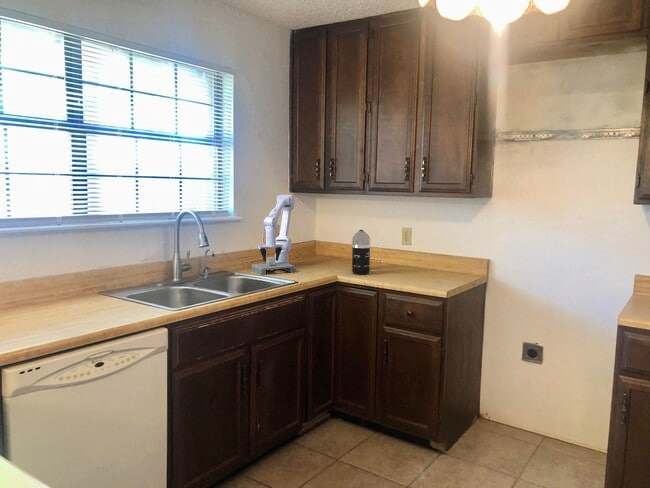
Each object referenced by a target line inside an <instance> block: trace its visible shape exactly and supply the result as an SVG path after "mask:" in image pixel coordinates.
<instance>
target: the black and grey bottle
mask: <svg viewBox="0 0 650 488" xmlns="http://www.w3.org/2000/svg"><path fill="white" fill-rule="evenodd" d="M351 249H352V251H351V253H352V254H351V255H352V256H351V258H352V259H351V272H352V274H353V275H359V276H365V275H369V274H370V272H371V270H370V265H371V261H370V260H371V259H370V258H371V238H370V235H369V233H367V232H366V231H365V230H364V229H359V230H358V231H356V233H354V234H353V236H352V239H351Z"/></svg>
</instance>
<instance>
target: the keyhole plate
mask: <svg viewBox="0 0 650 488" xmlns="http://www.w3.org/2000/svg"><path fill="white" fill-rule="evenodd" d="M268 269H274V270H277V269H280V270H283V271H286V272H288V273H296V272H295V269H296V268H295V265H294V264H290V263H289V262H288V263H285V262H278V263H275V265H272V267H271V265H268V264H266V263H255V264H254V263H253V264H251V271H252V272H254V273H256V274H258V275H261V276H265V275H267V274H266V272H267V271H268ZM266 270H267V271H266Z"/></svg>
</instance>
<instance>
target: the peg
mask: <svg viewBox="0 0 650 488" xmlns="http://www.w3.org/2000/svg"><path fill="white" fill-rule="evenodd" d="M266 264H268V265H271V267H273V265H275V256H266ZM267 271H275V269H267Z"/></svg>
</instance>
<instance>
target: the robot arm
mask: <svg viewBox="0 0 650 488" xmlns="http://www.w3.org/2000/svg"><path fill="white" fill-rule="evenodd" d="M295 203H296V199H295V196H294V194H281V193H280V194H279V193H278V195H277V196H276V205H275V207H274V208H272V209H271V210H270V212H269V214H268V216H266V217H265V218H264V220H263V226H264V230H265V244H264V245H263V244H261V245H258V247H257V248H258V250H259V252H260V253H261V256H262V261H263V262H266V257H267V250H269V249H273V250H274V251H275V253H274V257H275V263H278V262H285V263H288V264H289V253H290V251H291V250H292V239H291V238H290V237H289V236H288V235H289V230H290V222H291V215H292V210H293V209H294V207H295ZM281 211H282V217H281ZM280 217H281V221H280V222H281V223H280V230H279V235H278V236H276V235H277V234H276V227H277V226H278V221H279V218H280Z"/></svg>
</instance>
